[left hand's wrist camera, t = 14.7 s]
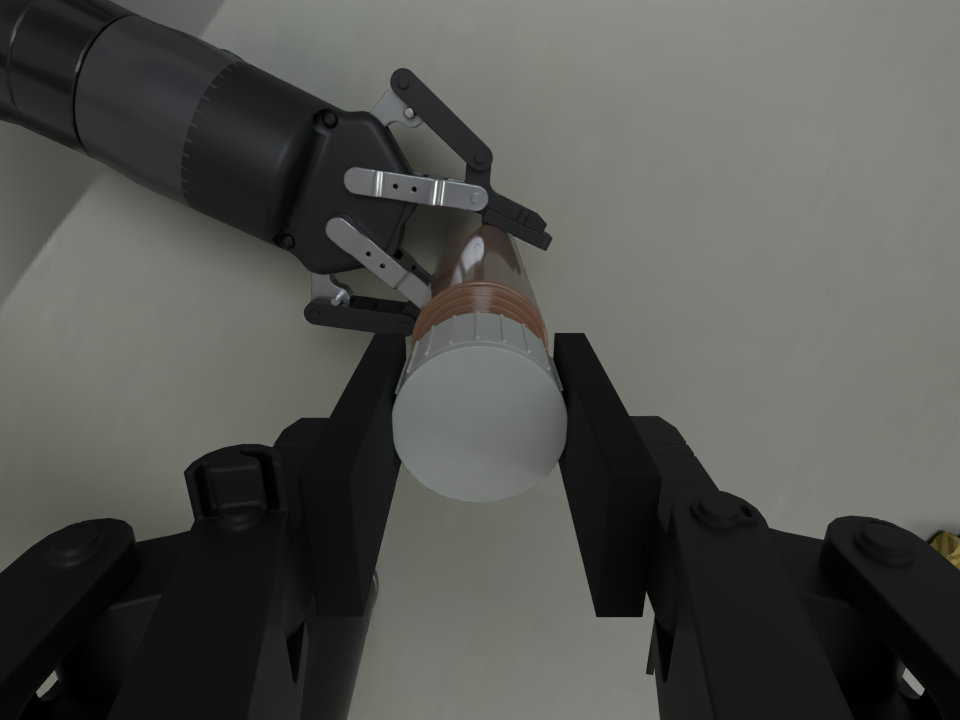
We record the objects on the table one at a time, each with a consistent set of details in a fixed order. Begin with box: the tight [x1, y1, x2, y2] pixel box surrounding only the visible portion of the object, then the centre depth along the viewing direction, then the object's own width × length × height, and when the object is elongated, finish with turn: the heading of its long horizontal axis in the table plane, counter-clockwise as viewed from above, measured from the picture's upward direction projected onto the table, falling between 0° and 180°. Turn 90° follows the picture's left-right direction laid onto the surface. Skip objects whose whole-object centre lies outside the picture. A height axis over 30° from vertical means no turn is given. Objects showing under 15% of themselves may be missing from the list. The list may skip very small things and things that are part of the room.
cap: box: [392, 311, 567, 503], centre depth 13 cm, size 4×4×2 cm
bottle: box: [411, 210, 548, 352], centre depth 24 cm, size 4×4×24 cm
